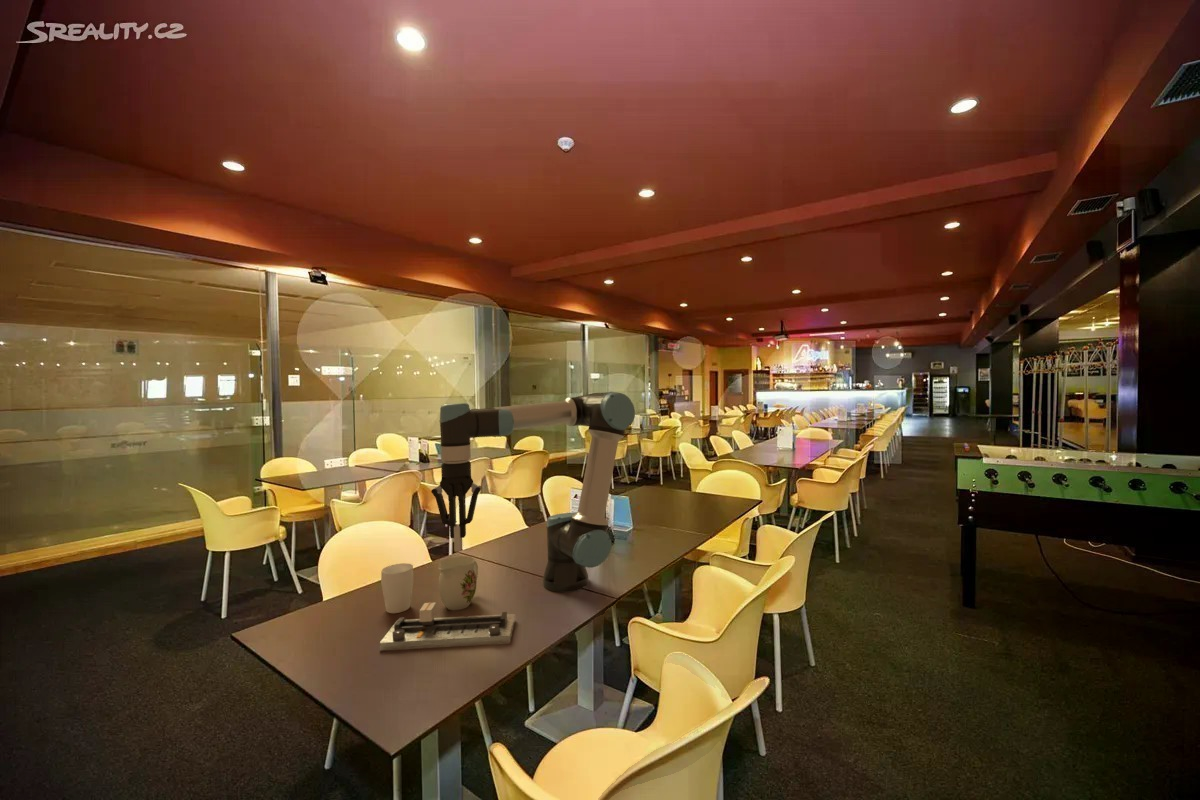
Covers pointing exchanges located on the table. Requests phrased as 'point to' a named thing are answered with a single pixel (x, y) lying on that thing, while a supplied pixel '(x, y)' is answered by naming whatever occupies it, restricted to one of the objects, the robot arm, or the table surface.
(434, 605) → the fader
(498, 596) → the table surface
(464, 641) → the console
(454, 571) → the pitcher
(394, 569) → the cup
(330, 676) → the table surface
